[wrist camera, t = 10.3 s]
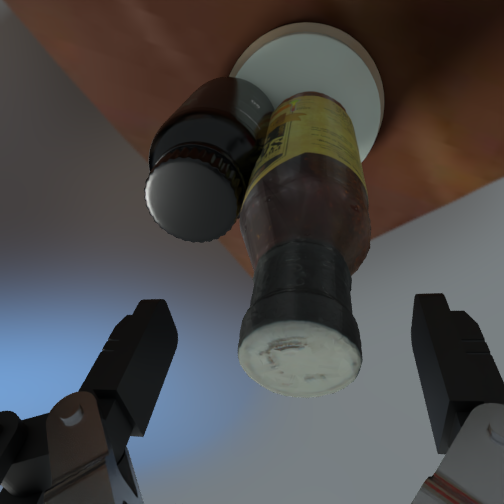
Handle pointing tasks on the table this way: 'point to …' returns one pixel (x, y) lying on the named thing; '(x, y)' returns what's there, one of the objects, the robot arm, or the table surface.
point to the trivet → (318, 72)
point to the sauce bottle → (304, 250)
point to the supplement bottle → (207, 159)
